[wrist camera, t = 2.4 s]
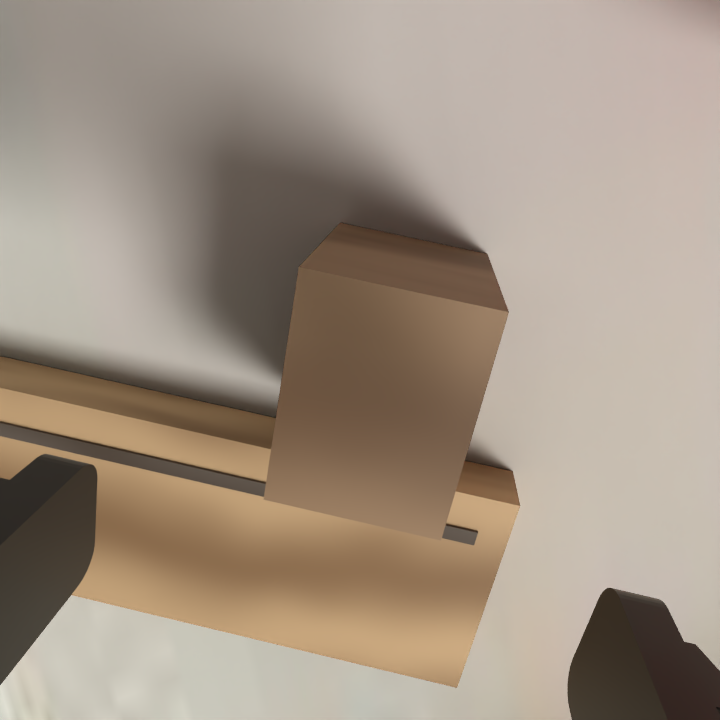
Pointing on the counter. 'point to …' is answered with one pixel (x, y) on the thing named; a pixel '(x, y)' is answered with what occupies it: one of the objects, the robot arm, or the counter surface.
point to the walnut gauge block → (383, 378)
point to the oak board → (254, 529)
